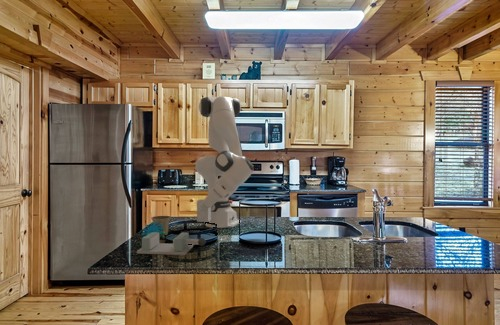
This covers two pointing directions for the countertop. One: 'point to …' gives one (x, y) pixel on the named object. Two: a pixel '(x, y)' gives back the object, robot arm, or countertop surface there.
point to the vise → (159, 246)
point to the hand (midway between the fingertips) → (202, 209)
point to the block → (203, 213)
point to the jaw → (186, 241)
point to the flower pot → (162, 222)
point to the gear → (154, 229)
